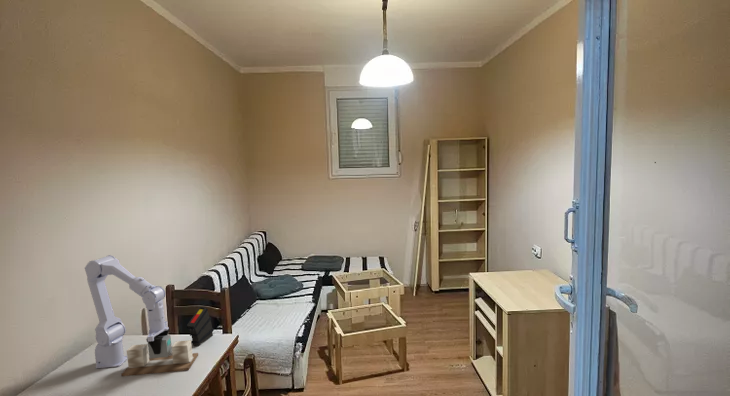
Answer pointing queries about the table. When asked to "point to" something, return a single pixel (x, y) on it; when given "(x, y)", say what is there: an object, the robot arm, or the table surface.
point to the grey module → (162, 348)
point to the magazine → (200, 327)
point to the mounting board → (159, 359)
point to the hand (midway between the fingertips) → (160, 350)
